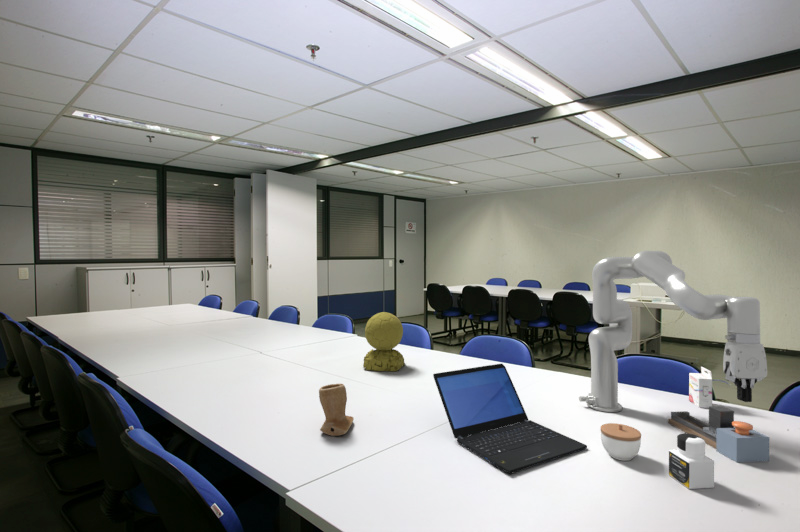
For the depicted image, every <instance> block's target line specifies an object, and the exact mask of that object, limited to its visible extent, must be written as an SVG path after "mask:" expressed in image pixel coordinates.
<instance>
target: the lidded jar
mask: <svg viewBox="0 0 800 532" xmlns="http://www.w3.org/2000/svg"><path fill="white" fill-rule="evenodd" d="M600 439H601V443H602V446H603V448H604V450H605V451H606V452H607V453H608V456H610V457H611V458H613V459H615V460H617V461H623V462H624V461H625V462H626V461H631V460H632V459H634V458H635V457H636V456H637V455H638V453H639V451H640V448H641V444H642V443H641V442H642V433H641V432H640V431H639V430H638V429H637V428H635V427H633V426H629V425H626V424H622V423H614V422H613V423H612V422H611V423H610V422H609V423H605V424H602V425H600Z"/></svg>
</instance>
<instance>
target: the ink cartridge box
mask: <svg viewBox="0 0 800 532" xmlns="http://www.w3.org/2000/svg"><path fill="white" fill-rule="evenodd" d="M700 370H701V372H700V373H699V372H688V373H689V374H688V376H689V377H688V378H689V379H688V381H689V382H688V401H689V400H690V401H691V403H692V402H693V403H694V404H693V403H692V404H693V405H695V406H696V405H697V406H698V408H699V407H700V408H701V409H704V408H705V409H709V406H713V375H712V371H711V370H709V369H707V368H706V367H703V366H700ZM690 401H689V402H690ZM697 406H696V407H697Z"/></svg>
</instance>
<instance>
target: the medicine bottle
mask: <svg viewBox="0 0 800 532" xmlns="http://www.w3.org/2000/svg"><path fill="white" fill-rule="evenodd" d="M676 438H677V439H676V440H677V441H676V442H677V443H676V445H677V446H676V449H674V448H672V449H668V476H669V477H671V478H672V479H674V480H675V481H677V482H678V483H679V484H681V485H682V486H684V487H685V488H686V489H688V490H696V489H698V490H699V489H715V488H714V487H715V460H713V459H712V458H710V457H708V456H706V443H705V441H704V439H702V438H701V437H699V436H697V435H693V434H688V433H686V432H684V433H683V432H682V433H678V435H677V437H676Z"/></svg>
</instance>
